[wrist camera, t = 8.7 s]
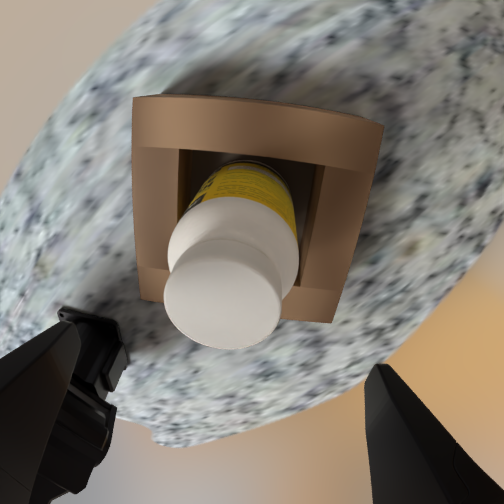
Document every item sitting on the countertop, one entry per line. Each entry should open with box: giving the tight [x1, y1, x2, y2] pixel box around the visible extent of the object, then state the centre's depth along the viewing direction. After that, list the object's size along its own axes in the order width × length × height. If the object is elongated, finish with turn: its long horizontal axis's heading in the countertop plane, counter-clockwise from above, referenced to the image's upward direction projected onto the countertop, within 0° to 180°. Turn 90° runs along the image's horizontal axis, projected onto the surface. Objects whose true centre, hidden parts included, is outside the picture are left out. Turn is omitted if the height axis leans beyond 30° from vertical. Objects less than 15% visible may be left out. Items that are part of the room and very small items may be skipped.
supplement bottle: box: [164, 160, 299, 349], centre depth 15 cm, size 5×5×10 cm
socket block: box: [132, 94, 384, 323], centre depth 18 cm, size 12×12×4 cm
